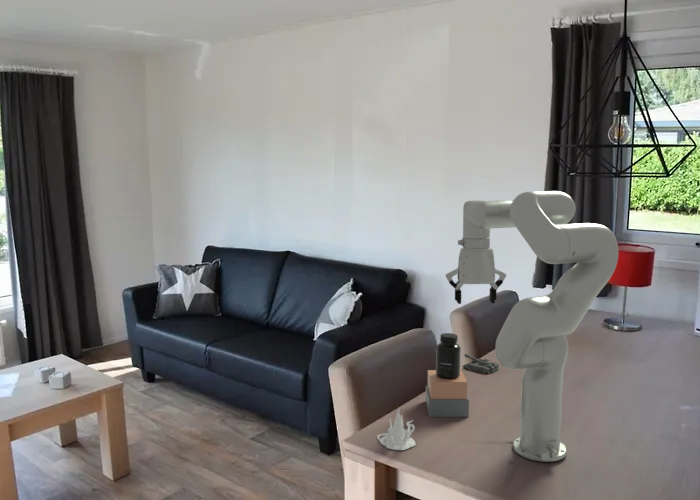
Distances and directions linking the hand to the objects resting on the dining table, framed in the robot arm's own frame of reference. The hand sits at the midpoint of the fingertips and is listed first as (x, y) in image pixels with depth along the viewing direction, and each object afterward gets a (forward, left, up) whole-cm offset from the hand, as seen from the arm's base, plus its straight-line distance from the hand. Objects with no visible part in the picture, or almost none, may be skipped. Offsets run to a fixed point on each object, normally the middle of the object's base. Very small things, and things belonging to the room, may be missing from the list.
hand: (475, 302), depth 173 cm
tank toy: (+30, -7, -31) cm, 44 cm away
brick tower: (-4, +9, -31) cm, 32 cm away
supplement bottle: (-4, +8, -21) cm, 23 cm away
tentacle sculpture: (-26, +24, -31) cm, 47 cm away
